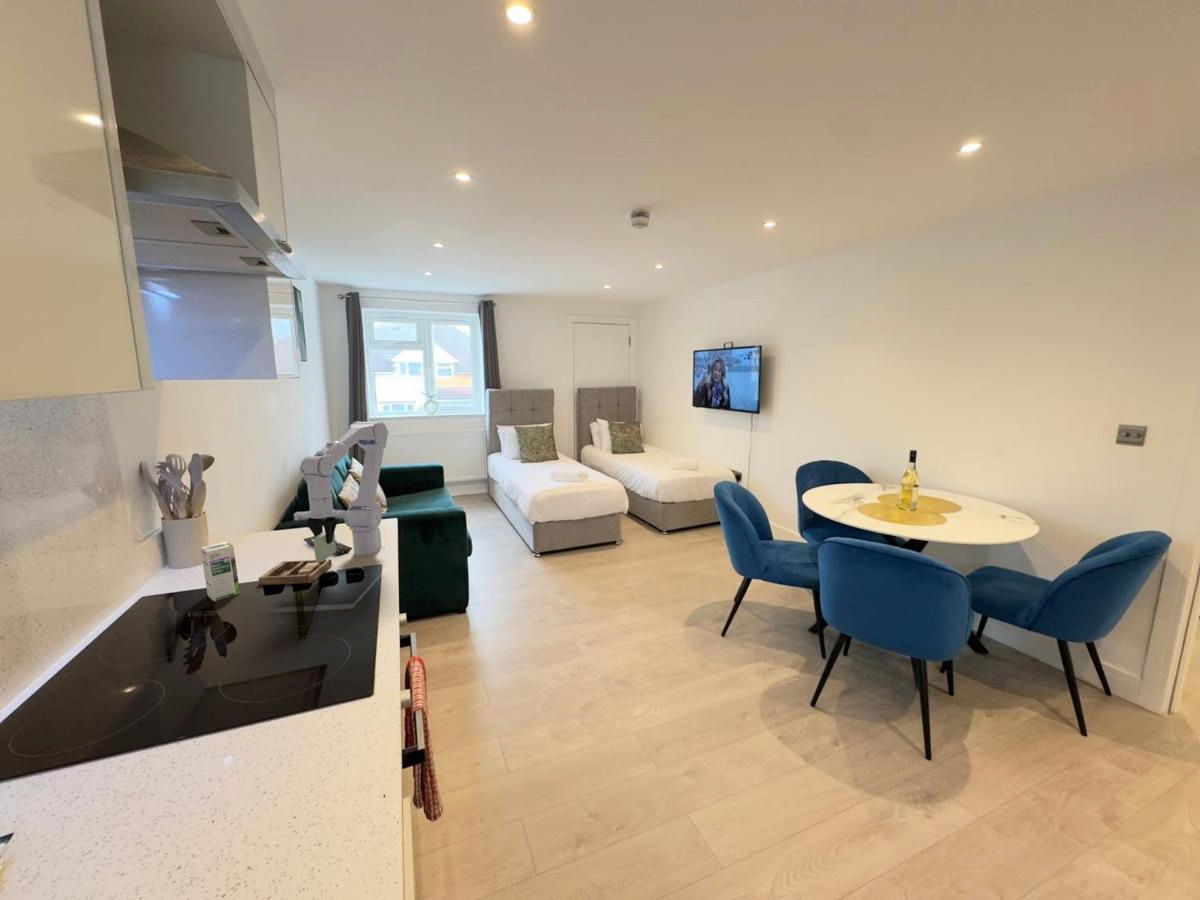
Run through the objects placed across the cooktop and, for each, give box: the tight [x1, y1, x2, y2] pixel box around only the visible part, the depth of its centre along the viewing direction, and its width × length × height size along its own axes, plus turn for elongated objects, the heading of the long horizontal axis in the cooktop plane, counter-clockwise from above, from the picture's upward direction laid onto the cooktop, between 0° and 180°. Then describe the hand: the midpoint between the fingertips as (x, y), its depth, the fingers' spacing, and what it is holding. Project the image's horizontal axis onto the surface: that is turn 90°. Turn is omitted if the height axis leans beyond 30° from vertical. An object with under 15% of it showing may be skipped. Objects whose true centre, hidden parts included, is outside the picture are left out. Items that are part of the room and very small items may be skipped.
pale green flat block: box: [312, 530, 337, 562], centre depth 137 cm, size 8×2×7 cm, turn 5°
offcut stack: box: [298, 562, 321, 579], centre depth 138 cm, size 7×4×2 cm, turn 5°
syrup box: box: [199, 541, 241, 602], centre depth 125 cm, size 6×6×14 cm
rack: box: [258, 558, 333, 586], centre depth 138 cm, size 12×14×3 cm
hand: (325, 542), depth 137 cm, fingers closed on pale green flat block, 2 cm apart
